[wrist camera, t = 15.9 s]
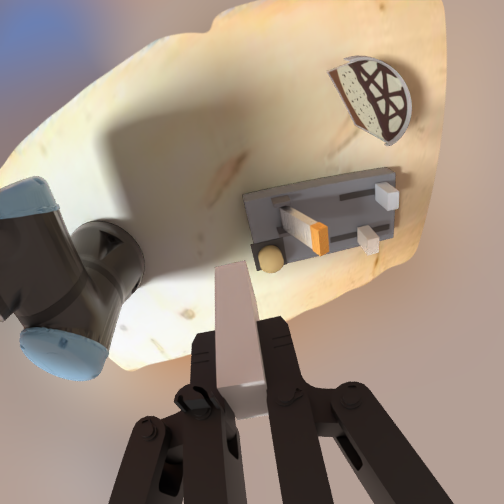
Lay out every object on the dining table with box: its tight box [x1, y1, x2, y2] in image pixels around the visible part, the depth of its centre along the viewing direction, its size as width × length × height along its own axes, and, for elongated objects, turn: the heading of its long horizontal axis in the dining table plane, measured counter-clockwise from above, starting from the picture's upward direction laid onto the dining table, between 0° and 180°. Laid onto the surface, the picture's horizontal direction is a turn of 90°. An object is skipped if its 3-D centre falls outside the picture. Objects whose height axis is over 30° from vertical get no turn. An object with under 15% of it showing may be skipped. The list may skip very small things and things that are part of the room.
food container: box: [327, 56, 412, 146], centre depth 31 cm, size 12×6×10 cm, turn 32°
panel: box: [243, 167, 395, 271], centre depth 44 cm, size 24×12×5 cm, turn 102°
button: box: [258, 245, 284, 273], centre depth 44 cm, size 4×4×2 cm
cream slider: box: [357, 225, 379, 255], centre depth 43 cm, size 2×3×4 cm
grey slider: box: [375, 182, 399, 211], centre depth 39 cm, size 2×3×4 cm
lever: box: [278, 205, 329, 256], centre depth 38 cm, size 1×4×10 cm, turn 12°
